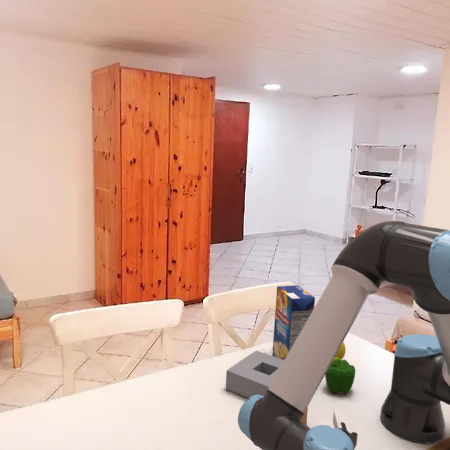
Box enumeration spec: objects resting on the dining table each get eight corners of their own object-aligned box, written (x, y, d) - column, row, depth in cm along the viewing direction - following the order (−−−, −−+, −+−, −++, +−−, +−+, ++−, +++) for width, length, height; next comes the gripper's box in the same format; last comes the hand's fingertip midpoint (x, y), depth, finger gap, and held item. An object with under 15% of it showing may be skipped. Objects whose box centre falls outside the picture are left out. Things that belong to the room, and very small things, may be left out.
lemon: (326, 356, 149) (328, 334, 148) (343, 358, 149) (345, 335, 147) (327, 364, 144) (329, 341, 143) (345, 366, 143) (347, 343, 142)
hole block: (302, 385, 130) (303, 366, 129) (275, 411, 117) (277, 390, 116) (255, 368, 139) (256, 350, 138) (225, 390, 126) (226, 370, 125)
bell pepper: (350, 383, 133) (354, 352, 131) (355, 398, 125) (358, 365, 123) (322, 380, 134) (324, 349, 132) (324, 395, 126) (327, 362, 124)
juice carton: (272, 355, 148) (276, 286, 144) (292, 354, 150) (298, 285, 146) (286, 373, 137) (292, 299, 133) (308, 371, 139) (315, 297, 135)
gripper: (244, 492, 82) (248, 422, 103) (383, 507, 80) (358, 433, 101) (246, 455, 81) (250, 392, 102) (388, 470, 79) (362, 402, 100)
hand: (304, 412), depth 101 cm, fingers open, 13 cm apart
